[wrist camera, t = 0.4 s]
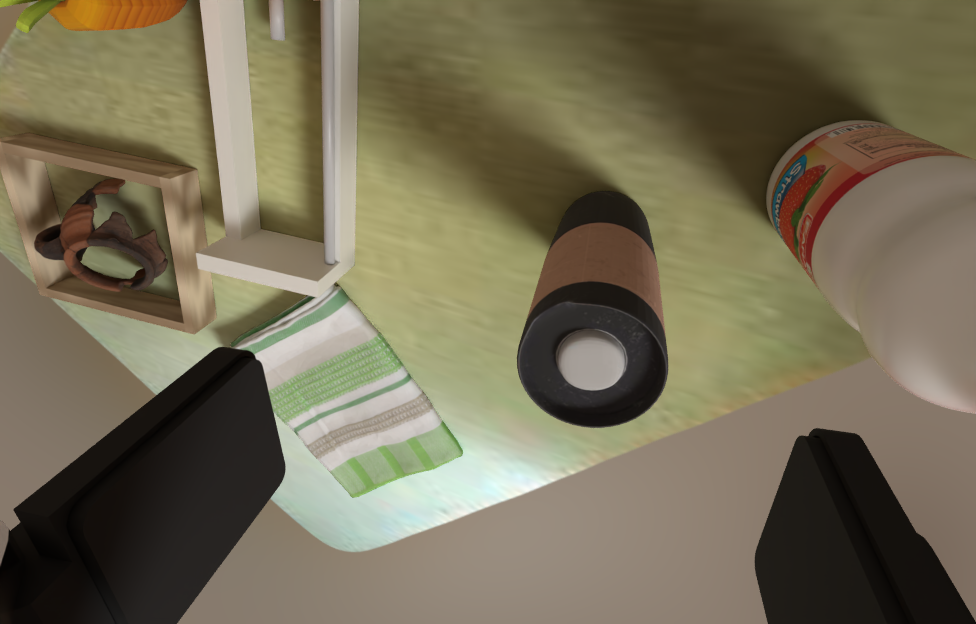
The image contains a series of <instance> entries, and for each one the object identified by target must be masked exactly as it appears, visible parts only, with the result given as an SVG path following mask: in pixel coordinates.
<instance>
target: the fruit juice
mask: <svg viewBox="0 0 976 624" xmlns="http://www.w3.org/2000/svg"><path fill="white" fill-rule="evenodd" d="M766 204H767V210H768V214H769V217H770V220H771V223H772V225H773V227H774V228H775V230H776V231H777V233H778V234H779V235H780V237H781V238H782V239H783V241H784V242H785V244H786V245H787V246H788V248H789V249H790V251H791V252H792V253H793V255H794V256H795V257H796V259H797V260H798V262H799V263H800V264H801V266H802V267H803V268H804V270H805V271H806V272H807V274H808V275H809V277H810V278H811V279H812V281H813V282H814V283H815V285H816V286H817V288H818V289H819V291H820V292H821V294H822V295H823V297H824V298H825V300H826V301H827V302H828V303H829V304H830V306H831V307H832V308H833V309H834V310H835V311H836V312H837V313H838V314H839V315H840V316H841V317H842V318H843V319H844V320H845V321H846V322H847V323H848V324H849V325H850V326H852V327H853V328H854V329H856V330H857V331H859V332H860V333H861V336H862V339H863V341H864V344H865V346H866V348H867V350H868V352H869V353H870V355H871V356H872V358H873V359H874V360H875V361H876V363H877V364H878V365H879V366H880V367H881V368H882V369H883V370H884V371H885V373H886V374H887V375H888V376H889V377H890V378H892V379H893V380H894V381H895V382H896V383H897V384H899V385H900V386H901V387H903V388H904V389H906V390H907V391H909V392H911V393H912V394H914V395H916V396H918V397H920V398H922V399H924V400H926V401H929V402H931V403H933V404H936V405H939V406H942V407H946V408H949V409H953V410H958V411H963V412H969V413H976V160H975V159H972V158H969V157H967V156H964V155H962V154H959V153H957V152H954V151H952V150H949V149H947V148H944V147H942V146H939V145H937V144H934V143H931V142H929V141H926V140H924V139H921V138H919V137H916V136H914V135H911V134H909V133H906V132H904V131H901V130H899V129H896V128H894V127H891V126H888V125H886V124H883V123H879V122H874V121H864V120H850V121H842V122H837V123H833V124H830V125H827V126H824V127H822V128H819V129H817V130H815V131H813V132H811V133H809V134H807V135H806V136H804V137H803V138H801V139H800V140H799V141H797V142H796V143H795V144H794V145H793V146H791V147H790V148H789V149H788V150H787V151H786V153H785V154H784V155H783V156H782V157H781V159H780V160H779V161H778V163H777V165H776V166H775V168H774V170H773V172H772V174H771V177H770V180H769V183H768V187H767V193H766Z"/></svg>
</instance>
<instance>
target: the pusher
mask: <svg viewBox="0 0 976 624" xmlns="http://www.w3.org/2000/svg"><path fill="white" fill-rule="evenodd" d="M315 1H321V0H315ZM269 15H270V32H271V39H274V40H285V25H284V3H283V0H269Z"/></svg>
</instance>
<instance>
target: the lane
mask: <svg viewBox="0 0 976 624" xmlns="http://www.w3.org/2000/svg"><path fill="white" fill-rule="evenodd" d="M200 7H201V16H202V25H203V34H204V43H205V52H206V61H207V70H208V79H209V88H210V97H211V105H212V114H213V123H214V132H215V141H216V150H217V159H218V168H219V177H220V186H221V195H222V204H223V213H224V222H225V231H226V237H224V238H222V239H220V240H219V241H217V242H215V243H213V244H211V245H209V246H208V247H206V248H204V249H202V250H200V251H198V252H196V258H197V265H198V269H201V270H205V271H209V272H213V273H217V274H221V275H226V276H230V277H234V278H238V279H242V280H246V281H250V282H255V283H259V284H263V285H267V286H271V287H275V288H279V289H284V290H288V291H292V292H296V293H300V294H304V295H309V296H313V297H317V298H319V297H320V296H321V295H322V294H323V293H324V292H325V291H326V290H327V289H328V288H330V287H331V286H332V285H333V284H334V283H335V282H336V281H337V280H338V279H340V278H341V277H342V276H343V275H344V274H345V273H346V272H347V271H348V270H350V269H351V268H352V267H353V266H354V265H355V214H356V154H357V94H358V33H359V0H321V69H322V139H323V208H324V243H321V242H316V241H312V240H308V239H303V238H299V237H294V236H290V235H286V234H281V233H277V232H272V231H268V230H264V229H261V226H260V213H259V200H258V187H257V174H256V161H255V148H254V135H253V122H252V109H251V96H250V83H249V70H248V57H247V44H246V31H245V18H244V5H243V0H200Z"/></svg>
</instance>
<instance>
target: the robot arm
mask: <svg viewBox="0 0 976 624" xmlns="http://www.w3.org/2000/svg"><path fill="white" fill-rule="evenodd" d="M284 475H285V461H284V457H283V453H282V448H281V444H280V439H279V435H278V431H277V426H276V422H275V417H274V413H273V409H272V404H271V400H270V395H269V391H268V387H267V382H266V378H265V373H264V369H263V365H262V363H261V362H260V361H259V360H257V359H256V357H255V355H254V354H253V353H252V352H251V351H248V350H242V349H235V348H227V347H218V348H216V349H215V350H213V351H212V352H211V353H209V354H208V355H207V356H205V357H204V358H203V359H202V360H200V361H199V362H198V363H197V364H195V365H194V366H193V367H192V368H190V369H189V370H188V371H187V372H185V373H184V374H183V375H182V376H180V377H179V378H178V379H177V380H175V381H174V382H173V383H172V384H170V385H169V386H168V387H167V388H165V389H164V390H163V391H161V392H160V393H159V394H158V395H156V396H155V397H154V398H153V399H152V400H150V401H149V402H148V403H146V404H145V405H144V406H143V407H141V408H140V409H139V410H138V411H136V412H135V413H134V414H133V415H131V416H130V417H129V418H128V419H126V420H125V421H124V422H123V423H121V424H120V425H119V426H118V427H116V428H115V429H114V430H112V431H111V432H110V433H109V434H107V435H106V436H105V437H104V438H102V439H101V440H100V441H99V442H97V443H96V444H95V445H94V446H92V447H91V448H90V449H89V450H87V451H86V452H85V453H84V454H82V455H81V456H80V457H79V458H77V459H76V460H75V461H74V462H72V463H71V464H70V465H68V466H67V467H66V468H65V469H63V470H62V471H61V472H60V473H58V474H57V475H56V476H55V477H53V478H52V479H51V480H50V481H48V482H47V483H46V484H45V485H43V486H42V487H41V488H40V489H38V490H37V491H36V492H34V493H33V494H32V495H31V496H29V497H28V498H27V499H26V500H25V501H23V502H22V503H21V504H20V505H18V506H17V507H16V508H14V512H15V513H16V515H17V517H18V519H19V520H20V523H19V524H18V525H17V526H16V527H15V528H13V529H12V530H11V531H10V530H9V529H8V527H7V526H6V525H5V524H4V522H3V521H0V624H177V623H178V621H179V620H180V619H181V617H182V616H183V615H184V613H185V612H186V611H187V609H188V608H189V607H190V605H191V604H192V603H193V601H194V600H195V598H196V597H197V596H198V595H199V593H200V592H201V591H202V589H203V588H204V586H205V585H206V584H207V582H208V581H209V580H210V578H211V577H212V576H213V574H214V573H215V572H216V570H217V569H218V567H219V566H220V565H221V564H222V562H223V561H224V560H225V558H226V557H227V555H228V554H229V553H230V552H231V550H232V549H233V548H234V546H235V545H236V543H237V542H238V541H239V539H240V538H241V537H242V535H243V534H244V533H245V531H246V530H247V529H248V527H249V526H250V525H251V523H252V522H253V521H254V519H255V518H256V516H257V515H258V514H259V512H260V511H261V510H262V508H263V507H264V506H265V504H266V503H267V502H268V500H269V499H270V498H271V496H272V495H273V494H274V492H275V491H276V490H277V488H278V487H279V486H280V484H281V482H282V480H283V478H284ZM755 571H756V576H757V580H758V585H759V588H760V593H761V597H762V601H763V605H764V609H765V614H766V618H767V622H768V624H976V622H975V620H974V618H973V617H972V615H971V613H970V611H969V610H968V608H967V607H966V605H965V603H964V601H963V600H962V598H961V596H960V595H959V593H958V591H957V589H956V588H955V586H954V584H953V583H952V581H951V579H950V578H949V576H948V574H947V573H946V571H945V569H944V567H943V566H942V564H941V562H940V561H939V559H938V557H937V556H936V554H935V552H934V551H933V549H932V547H931V546H930V545H929V543H928V542H927V541H926V540H925V538H924V537H922V536H921V535H919V534H918V533H916V531H915V529H914V528H913V526H912V524H911V523H910V521H909V519H908V517H907V516H906V514H905V512H904V511H903V509H902V507H901V505H900V504H899V502H898V500H897V499H896V497H895V495H894V493H893V491H892V490H891V488H890V486H889V484H888V483H887V481H886V479H885V478H884V476H883V474H882V472H881V471H880V469H879V467H878V465H877V464H876V462H875V460H874V458H873V457H872V455H871V453H870V451H869V450H868V448H867V446H866V445H865V443H864V441H863V440H862V438H861V437H860V436H859V435H857V434H855V433H848V432H840V431H833V430H826V429H819V428H816V429H813V430H812V431H811V432H810V434H809V436H799V437H798V438H797V439H796V441H795V444H794V447H793V450H792V452H791V455H790V458H789V460H788V463H787V466H786V469H785V471H784V474H783V477H782V480H781V483H780V485H779V488H778V491H777V493H776V496H775V499H774V502H773V505H772V507H771V510H770V513H769V516H768V518H767V521H766V524H765V527H764V529H763V532H762V535H761V538H760V540H759V543H758V546H757V549H756V553H755Z"/></svg>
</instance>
